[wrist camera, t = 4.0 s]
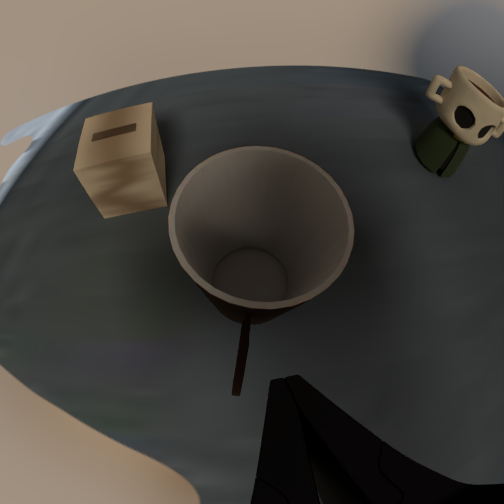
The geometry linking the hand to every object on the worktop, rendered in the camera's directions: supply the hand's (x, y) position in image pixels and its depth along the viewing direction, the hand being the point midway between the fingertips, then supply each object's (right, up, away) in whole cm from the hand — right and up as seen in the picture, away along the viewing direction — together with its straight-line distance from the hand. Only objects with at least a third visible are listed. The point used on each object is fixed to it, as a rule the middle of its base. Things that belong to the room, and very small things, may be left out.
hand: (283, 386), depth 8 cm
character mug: (+22, +15, +22) cm, 35 cm away
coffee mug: (-2, 0, +14) cm, 14 cm away
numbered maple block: (-12, +10, +18) cm, 23 cm away
